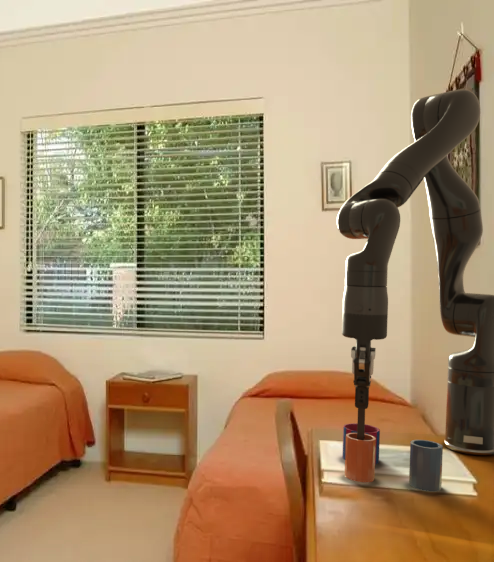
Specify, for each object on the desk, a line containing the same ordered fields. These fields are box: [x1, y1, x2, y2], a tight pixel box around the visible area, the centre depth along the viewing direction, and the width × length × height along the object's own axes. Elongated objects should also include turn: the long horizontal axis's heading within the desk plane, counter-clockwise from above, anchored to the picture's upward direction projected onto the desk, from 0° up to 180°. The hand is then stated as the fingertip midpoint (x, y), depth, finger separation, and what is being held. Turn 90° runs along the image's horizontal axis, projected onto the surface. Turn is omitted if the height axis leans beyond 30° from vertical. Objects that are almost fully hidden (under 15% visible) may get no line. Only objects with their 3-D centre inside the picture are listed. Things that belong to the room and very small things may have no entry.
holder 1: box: [344, 433, 376, 483], centre depth 108 cm, size 5×5×8 cm
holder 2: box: [408, 439, 444, 493], centre depth 104 cm, size 5×5×8 cm
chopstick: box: [357, 378, 366, 440], centre depth 108 cm, size 1×1×13 cm
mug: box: [342, 422, 381, 465], centre depth 117 cm, size 7×10×7 cm
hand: (361, 406), depth 108 cm, fingers closed on chopstick, 1 cm apart
